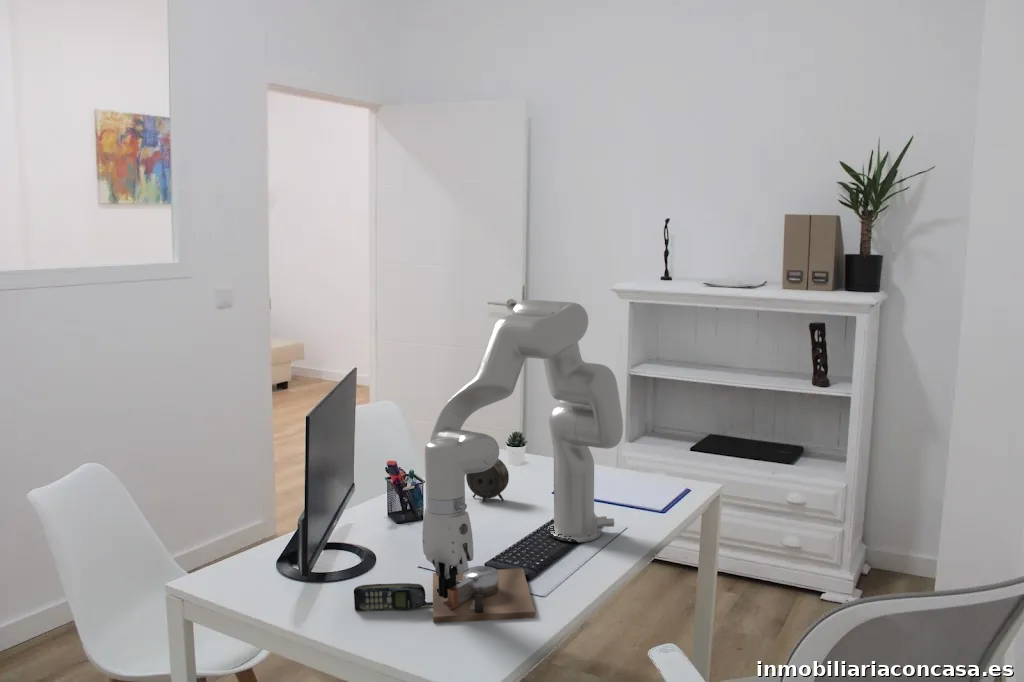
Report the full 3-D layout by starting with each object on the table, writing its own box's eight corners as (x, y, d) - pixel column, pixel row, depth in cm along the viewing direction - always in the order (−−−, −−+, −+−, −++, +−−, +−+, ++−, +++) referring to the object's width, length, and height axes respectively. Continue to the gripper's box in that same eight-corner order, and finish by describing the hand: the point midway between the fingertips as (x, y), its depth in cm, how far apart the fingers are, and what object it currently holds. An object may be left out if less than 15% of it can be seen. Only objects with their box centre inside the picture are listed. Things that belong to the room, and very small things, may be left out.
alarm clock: (509, 500, 237) (509, 440, 235) (502, 506, 232) (501, 445, 230) (472, 496, 241) (471, 437, 239) (464, 501, 236) (463, 442, 234)
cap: (476, 579, 181) (476, 563, 180) (505, 586, 177) (505, 570, 176) (436, 603, 169) (435, 586, 169) (465, 612, 166) (465, 594, 165)
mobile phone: (352, 589, 169) (431, 585, 169) (354, 583, 172) (432, 579, 172) (354, 614, 170) (432, 610, 170) (356, 607, 173) (433, 603, 173)
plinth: (523, 573, 187) (523, 554, 187) (534, 617, 167) (534, 596, 166) (433, 578, 186) (432, 559, 185) (433, 622, 165) (432, 601, 164)
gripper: (487, 507, 167) (488, 599, 170) (433, 491, 177) (435, 579, 180) (458, 517, 162) (460, 612, 164) (404, 500, 172) (407, 591, 174)
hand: (447, 595), depth 172 cm, fingers closed
